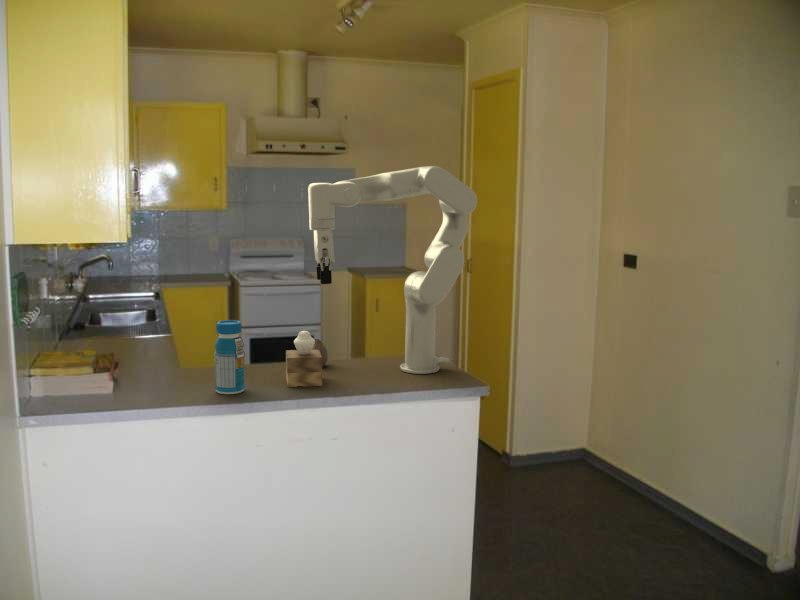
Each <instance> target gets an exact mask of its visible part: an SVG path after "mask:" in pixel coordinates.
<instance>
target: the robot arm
mask: <svg viewBox="0 0 800 600" xmlns="http://www.w3.org/2000/svg"><path fill="white" fill-rule="evenodd" d="M307 190H308V191H307V192H308V196H307V197H308V214H309V215H308V216H309V218H308V219H309V220H308V221H309V230H310V231H313V247H314V259H315V261H316V280H319V281H320V284H321V285H331V284H332V283H333V282H332V268H331V266H332V265H331V264H334V263H335V251H334V250H335V249H334V248H335V247H334V238H333V237H334V236H333V230H336V219H335V218H336V217H335V216H336V214H335V207H343V208H351V207H352V208H353V207H355V206H356V205H358V204H359V203H365V202H373V201H377V202H378V201H379V202H384V201H385V202H387V201H395V200H396V201H397V200H400V199H401V200H402V199H406V198H411V197H417V196H423V195H432V196H434V197H435V198H436V199H437V200H438V203H439V207H440V210H441V213H442V223H441V225H440V227H439V230H438V231H437V233H436V235H435V236H434V238H433V239H432V241H431V243H430V244H429V246H428V248H427V249H426V251H425V253H424V257H423V261H424V264H425V266H426V267H427V268H428V270H427V271H423V270H418V271H414V272H412V273H410V274H409V275H408V276H407V277H406V279H405V281H404V286H403V292H404V293H403V294H404V302H405V336H404V337H405V341H404V343H405V346H404V348H405V349H404V362H403V363H401V364H400V365H399V369H400V370H401V371H402V372H404V373H409V374H415V375H425V374H426V375H427V374H432V373H433V374H435V373H437V372H438V371H440V365H441V364H444V365H449V364H450V358H449V357H444V356H439V357H438V356H437V355H436V353H435V352H436V327H437V325H436V324H437V323H436V322H437V316H436V315H437V311H436V306H438V305H441V303H442V302H443V301H444V300H445V299H446V297H447V296H448V294H450V292H451V290H452V288H453V287H454V285H455V283H456V281H457V279H458V277H459V276H460V275H461V273H462V270H463V268H464V264H465V255H464V252H463V251H462V249H461V246H462V244H463V243H464V241H465V238H466V237H467V234H468V231H469V226H470V225H469V216H468V215H469V214H471V213H473V212H474V211H475V210H476V207H477V205H478V197H477V194H476V192H475V191H474V189H472V188H471V187H469V186H468V185H467V184H465V183H464V181H463V182H462V181H461V180H460V179H459V178H457V177H456V176H455V175H453V174H452V173H450V172H449V171H448V170H446V169H444V168H443V167H440V166H438V165H425V166H424V165H423V166H418V167H412V168H407V169H402V170H396V171H395V170H394V171H388V172H382V173H378V174H374V175H370V176H364V177H359V178H357V177H356V178H352V179H346V180H340V181H336V182H335V183H330V182H312V183H310V184H309V185H308V187H307Z"/></svg>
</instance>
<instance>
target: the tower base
mask: <svg viewBox="0 0 800 600" xmlns="http://www.w3.org/2000/svg"><path fill="white" fill-rule="evenodd" d="M285 379H286V385H287V388H295V387H296V388H298V387H297V386H303V387H323V371H322V372H309V373H287V368H286V367H285Z"/></svg>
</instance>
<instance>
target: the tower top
mask: <svg viewBox="0 0 800 600" xmlns="http://www.w3.org/2000/svg"><path fill="white" fill-rule="evenodd" d="M286 368H287V373H309V372H322V373H323V367H322V356H321V353H320V351H319V350H311V352H310V354H306V355H302V354H299V353H298V351H297V349H290V350H288V349H287V350H285V369H286Z"/></svg>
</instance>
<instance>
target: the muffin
mask: <svg viewBox="0 0 800 600" xmlns="http://www.w3.org/2000/svg"><path fill="white" fill-rule="evenodd" d="M314 339H315V338H313V337H312V335H311V332H309V331H308V330H302V331H299V332H298V333H297V337H296V338H295V339H294V340H293V344H294V347H295V348H296V349H295V350H297V351H298V353H299V354H302V355H306V354H310V352H311V350H312V348H313V346H314V343H315V340H314Z"/></svg>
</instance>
